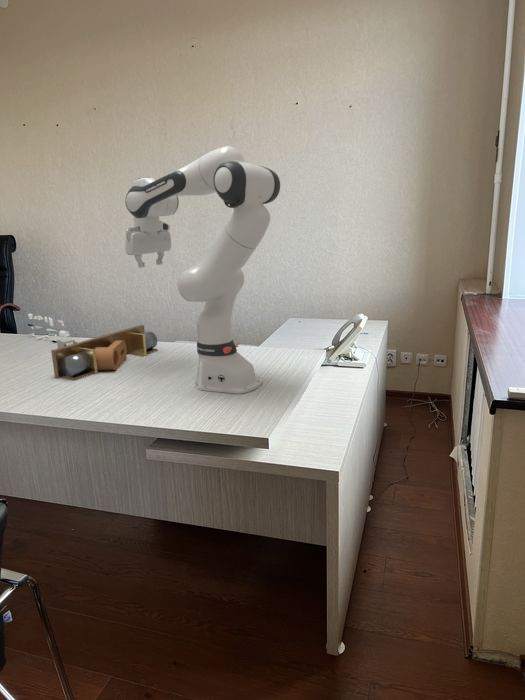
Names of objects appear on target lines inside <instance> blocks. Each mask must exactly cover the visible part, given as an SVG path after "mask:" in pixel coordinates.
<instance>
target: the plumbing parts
mask: <svg viewBox="0 0 525 700" xmlns="http://www.w3.org/2000/svg"><path fill="white" fill-rule="evenodd" d="M33 315H34V314H32V313H28V314H27V316H28V319H29V320H38V321H43V320H44V323H48V324H49V326H50V327H54V321H53V320H54V319H53V318H52V317H50V316H44V317H42V315H35V316H33ZM57 323H60V324H61V326H62V327H65V324H64V321H63V320H58V319H57ZM27 326H28V327H31V329H32V330H34V329H37V330H40V329H43V326H38V325H34V324H30V323H28V324H27ZM34 326H35V328H34ZM46 331H47V332H57V330H55V329H52V328H46ZM28 336H30V337H32V338H36V340H35V342H37V341H40V340H42V341H48V338H49V334H45V335H42V336H38V335H35V333H34V332H32V333H29V334H28ZM58 336H59V337H62V338H67V337H70V336H71V335H70V332H69V331H68V330H63V329H61V330H59V331H58ZM50 341H51V342H52V343H55V344H57V339H54V338H50Z"/></svg>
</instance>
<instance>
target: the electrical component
mask: <svg viewBox="0 0 525 700" xmlns="http://www.w3.org/2000/svg"><path fill="white" fill-rule="evenodd" d="M56 340H57V343H56V345H57V349H58V348H61V347H65V346H68V345H72V344H75V343H78V341H75V339H74V338H71V337H70V336H67V337H62V338H57V339H56Z"/></svg>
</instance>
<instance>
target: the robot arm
mask: <svg viewBox="0 0 525 700" xmlns="http://www.w3.org/2000/svg"><path fill="white" fill-rule="evenodd" d="M280 191H281V181H280V177H279V176H278V174H277V173H276V172H275V171H273V170H272V169H270V168H268V167H266V166H261V165H256V164H253V163H250V162H245V160H244V157H243V155H242V153H241V152H240V150H238V149H237V148H236V147H234V146H231V145H226V146H222V147H218V148H216V149H213V150H211V151H209V152H207V153H206V154H203V155H202V156H200V157H198V158H197V159H196V160H193V161H192V162H190V163H189V164H187V165H185V166H183V167H181V168H178V169H176V170H175V171H173V172H170V173H168V174H166V175H164V176H162V177H159V178H158V179H155V178H154V177H150V176H145V177H139V178H136V179H134V180H133V181H132V184H131V188H129V190H128V191H127V193H126V195H125V207H126V209H127V210H128V212H129V213H130V214H131V216H133V224H134V225H133V227H128V229H127V230H126V232H125V235H126V236H125V253H126V255H127V256H134V259H135V261H136V262H137V265H138V268H141V269H142V268H145V267H146V266H145V262H144V261H143V260H142V258H143V255H146V254H154V253H156V255H158V256H157V259H155V263H156V265H158V266H159V265H163V260H164V256H165V252H170V251H171V248H172V237H171V232H170V231H169V230H171V228H170V227H171V226H170V224H169V223H167V222H164V221H162V220H161V219H160V217H168V216H172V215H174V214H176V213H177V211H178V208H179V202H180V201H179V197H182V196H207V195H211V194H213V193H216V194H217V195H218V196H219V197H220V199H221V200H222V201H223V204H224V205H225V206H226V207H227V208H230V209H233V213H232V216H231V217H230V219H229V221H228V222H227V224H226V225H225V227H224V228H223V230H222V231H221V233H220V234H219V236H218V238H217V239H216V241H215V242H214V243H213V245H212V246H211V247H210V248H209V249H208V250H207V251H206V252H205V253H204V254H203V255H202V256H201V257H200V258H199V259H197V261H196V262H195V263H194V264H192V265H191V266H190V267H188V268H187V269H185V270H183V271H182V272H181V273H180V274H179V275H178V279H177V284H176V285H177V290H178V293H179V295H180V297H181V298H182V299H183V300H185V301H187V302H190V303H191V302H193V303H202V302H203V303H204V306H203V308H202V310H201V312H199V314H198V316H197V317H196V318H197V319H196V326H197V328H196V329H197V330H196V331H197V341H196V350H197V354H198V360H197V361H198V363H197V364H198V365H197V372H196V373H197V374H196V380H195V384H196V385H197V390H199V391H207V392H215V393H216V392H218V393H227V394H236V395H237V394H240V395H241V394H245V393H249V392H252V391H255V390H256V389H257V388H259V387H260V386H262V385H263V379H262V378H260V377H257V376H256V371H255V368H254V367H255V366H254V365H253V364H252V363H251V362H249V361H248V360H247V359H246V358H245V357H244V356H243V355H241V354H240V353H239V352H238V349H237V348H238V347H240V343H239V342H238V343H235V342H234V340H233V338H232V337H233V336H232V331H233V330H232V317H233V310H234V306H235V302H236V298H237V295H238V294H239V292H240V290H242V288H243V286H244V283H245V275H244V272H243V270H242V268H243V267H245V265H246V264H247V262H248V261H249V260H250V258H251V256H252V255H253V253H254V252H255V251H256V249H257V247H258V246H259V244H260V243H261V241H262V239H263V238H264V236H265V235H266V232H267V230H268V227H269V225H270V222H271V213H270V211H269V209H268V208H267V207H266V204H270V203H272V202H274V201H275V200H276V199H277V198H278V196H279V194H280Z"/></svg>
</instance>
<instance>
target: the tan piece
mask: <svg viewBox="0 0 525 700" xmlns="http://www.w3.org/2000/svg"><path fill="white" fill-rule="evenodd" d="M95 353H96V361H97V370H98V371H117V370H118V369H119V368H120V367H121V366H122V365H123V364H124V363H125V362H126V360H127V355H128V354H127V348H126V343H125V341H115V342H114V343H112V344H111V345H110V346H109V347H97V348H95ZM123 362H124V363H123Z"/></svg>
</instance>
